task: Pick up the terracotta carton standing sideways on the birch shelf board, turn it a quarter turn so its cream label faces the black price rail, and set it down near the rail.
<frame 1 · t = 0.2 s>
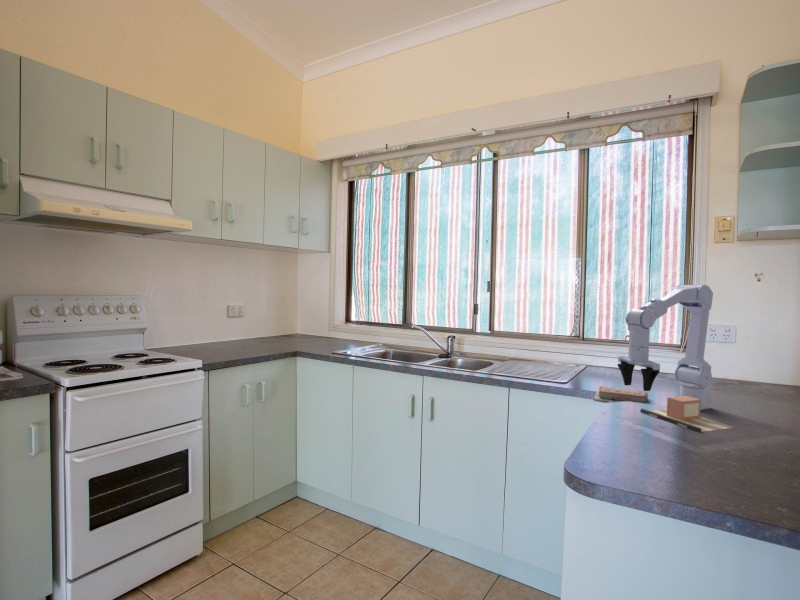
hand: (637, 387, 142), 10 cm above the table, tool pointing down, fingers open, 7 cm apart
shelf board: (686, 423, 138), on the table
packaged product: (620, 402, 164), on the table
carton: (683, 417, 140), point 1 cm above the table, touching shelf board
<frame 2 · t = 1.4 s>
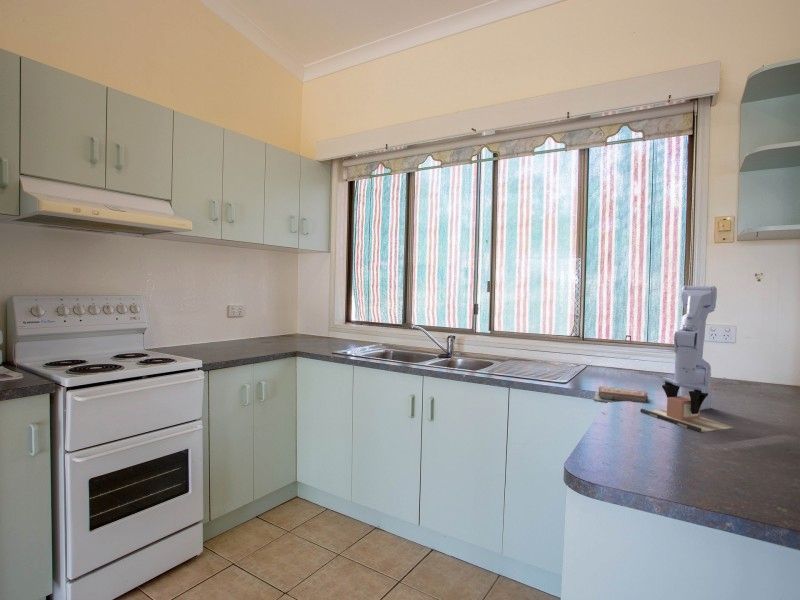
hand: (683, 410, 140), 4 cm above the table, tool pointing down, fingers open, 7 cm apart
nothing on the table moved.
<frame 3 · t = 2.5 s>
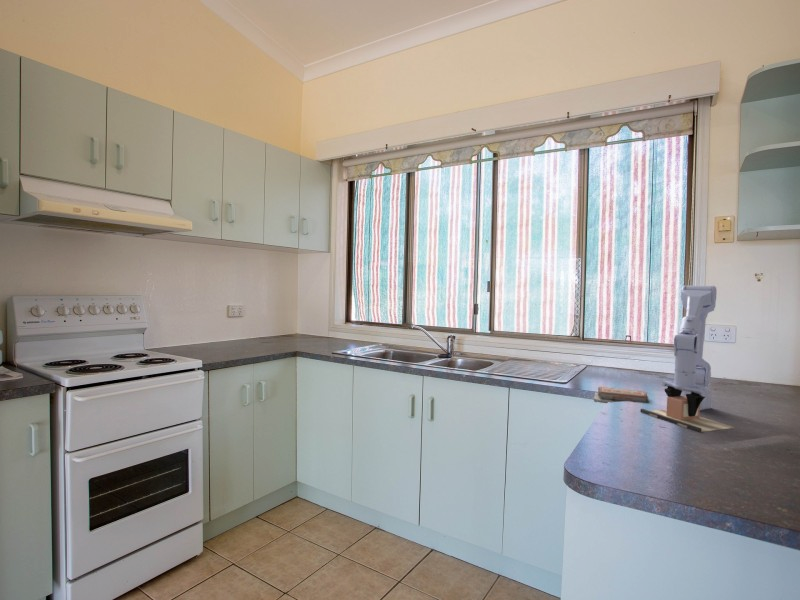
hand: (683, 413, 140), 3 cm above the table, tool pointing down, fingers closed on carton, 5 cm apart
carton: (682, 416, 140), point 2 cm above the table, touching gripper, shelf board
everything else where it was.
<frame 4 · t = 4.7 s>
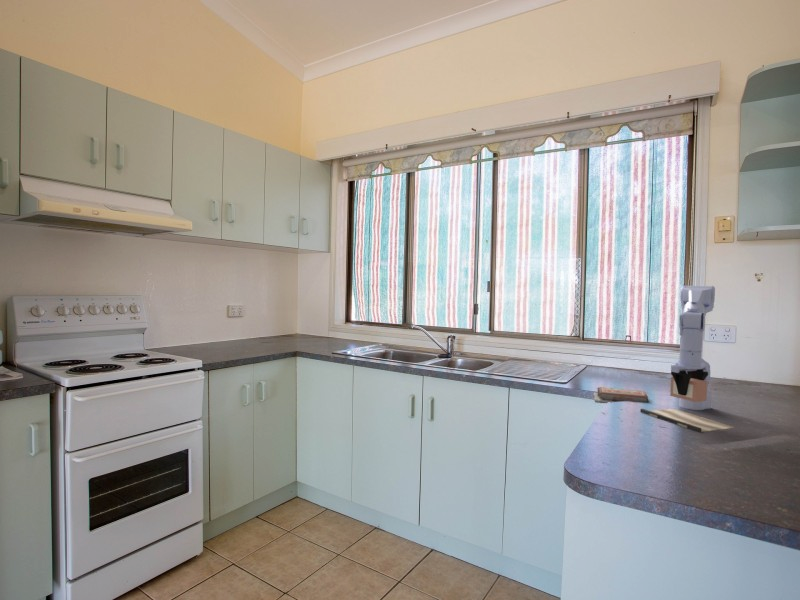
hand: (688, 394, 136), 10 cm above the table, tool pointing down, fingers closed on carton, 5 cm apart
carton: (688, 398, 136), point 9 cm above the table, touching gripper
everything else where it was.
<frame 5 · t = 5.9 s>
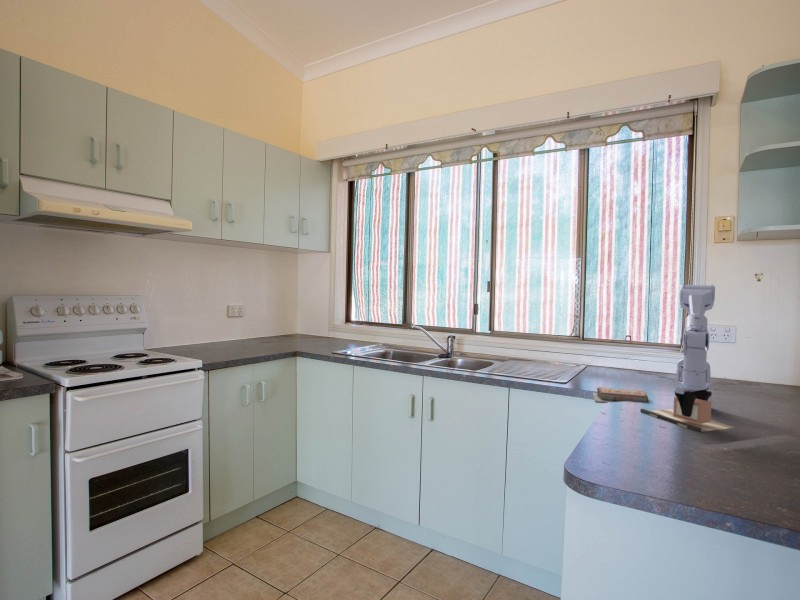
hand: (692, 414, 133), 4 cm above the table, tool pointing down, fingers closed on carton, 5 cm apart
carton: (691, 419, 133), point 3 cm above the table, touching gripper
when the fingers open (4 cm above the table, at t = 7.0 s): carton stays where it is, resting on shelf board.
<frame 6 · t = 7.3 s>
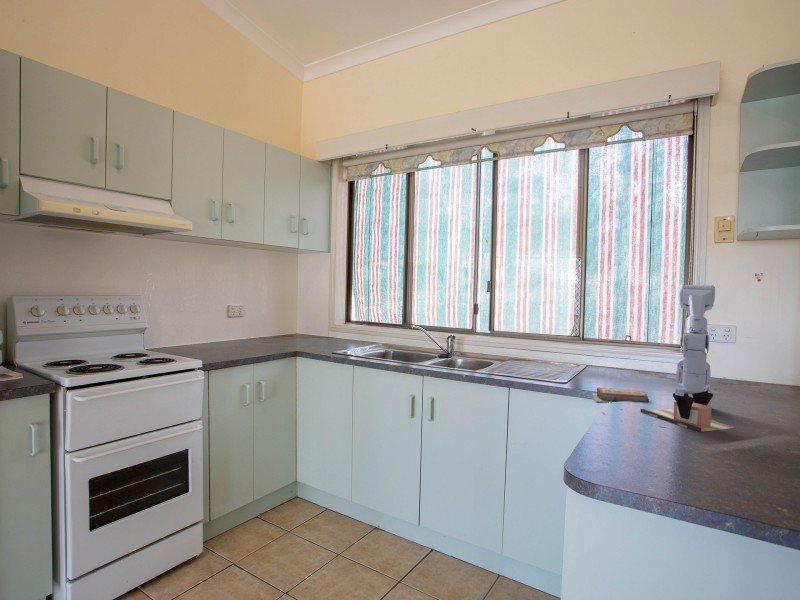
hand: (692, 416, 133), 4 cm above the table, tool pointing down, fingers open, 7 cm apart
carton: (691, 423, 133), point 1 cm above the table, touching shelf board
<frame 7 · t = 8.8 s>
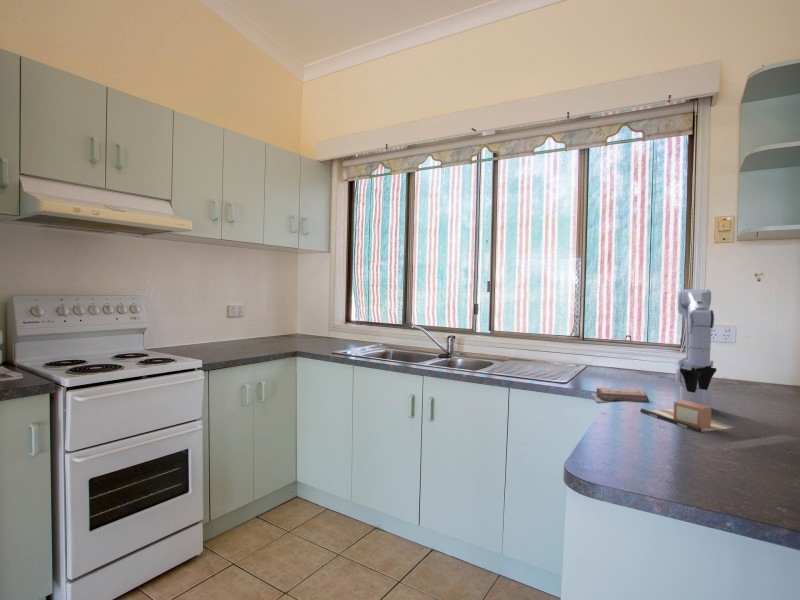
hand: (697, 390, 138), 10 cm above the table, tool pointing down, fingers open, 7 cm apart
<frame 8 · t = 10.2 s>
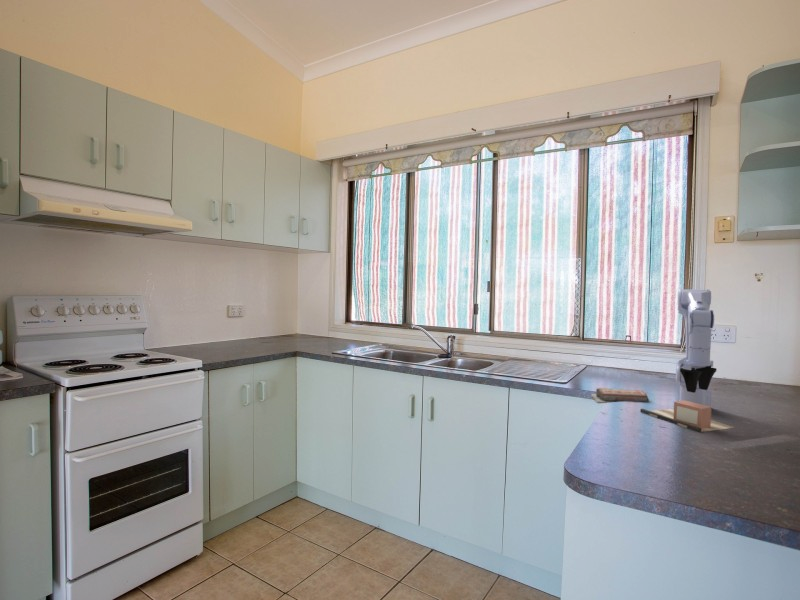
hand: (697, 390, 138), 10 cm above the table, tool pointing down, fingers open, 7 cm apart
at the end: carton 0.1 cm from the target spot, point 1.5 cm above the table; carton tilted 0°; the gripper is holding nothing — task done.
